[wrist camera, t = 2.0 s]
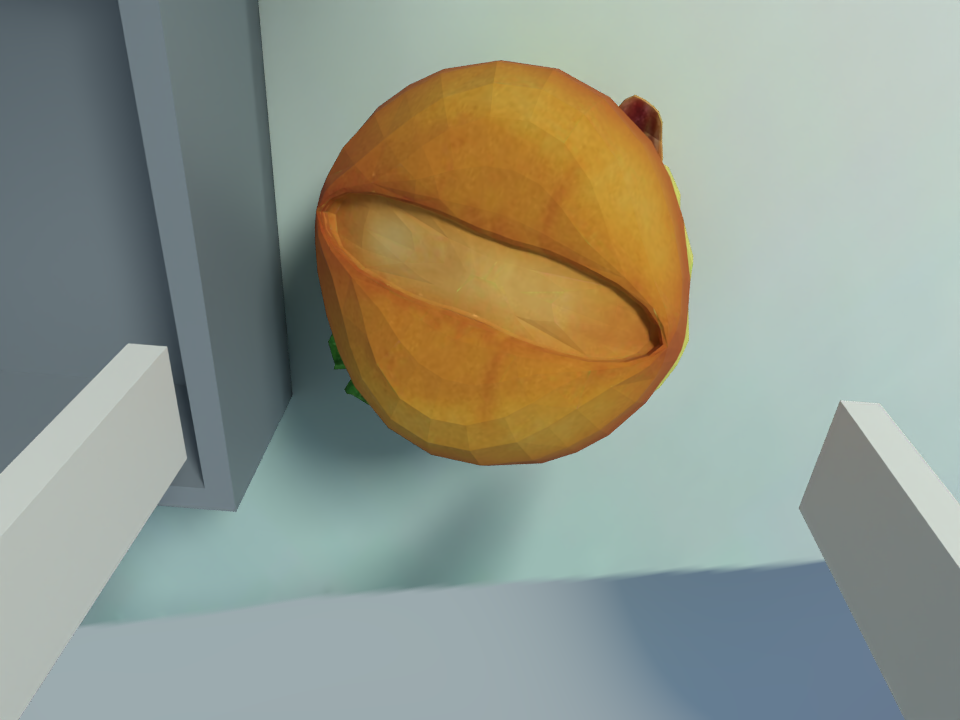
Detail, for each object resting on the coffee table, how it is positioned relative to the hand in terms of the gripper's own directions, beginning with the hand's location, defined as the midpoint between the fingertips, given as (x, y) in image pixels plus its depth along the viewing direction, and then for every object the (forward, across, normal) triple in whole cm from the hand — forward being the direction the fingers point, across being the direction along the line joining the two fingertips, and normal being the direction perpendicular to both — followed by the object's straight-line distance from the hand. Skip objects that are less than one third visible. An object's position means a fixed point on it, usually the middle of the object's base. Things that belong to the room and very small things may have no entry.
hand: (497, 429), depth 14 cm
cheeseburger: (+10, 0, 0) cm, 10 cm away
